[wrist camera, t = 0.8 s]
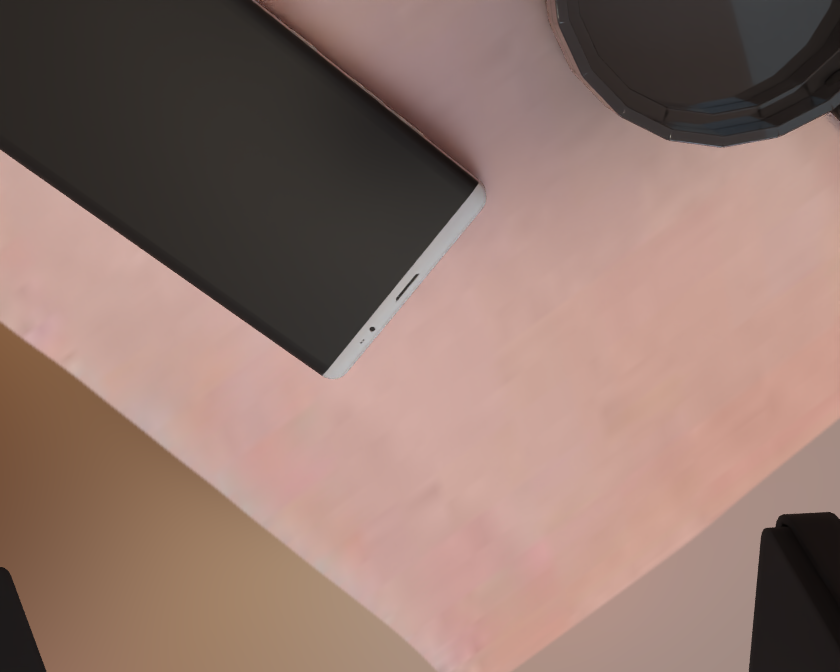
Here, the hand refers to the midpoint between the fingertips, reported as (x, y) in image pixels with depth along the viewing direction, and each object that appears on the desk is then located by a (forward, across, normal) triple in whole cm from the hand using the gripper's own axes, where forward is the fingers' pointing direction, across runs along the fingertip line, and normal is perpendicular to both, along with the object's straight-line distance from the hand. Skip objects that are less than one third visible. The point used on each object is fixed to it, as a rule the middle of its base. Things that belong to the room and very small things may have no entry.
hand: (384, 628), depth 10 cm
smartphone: (+32, +12, -2) cm, 34 cm away
